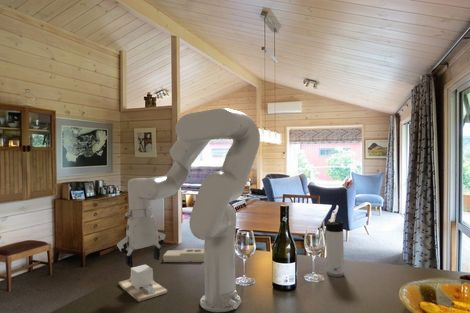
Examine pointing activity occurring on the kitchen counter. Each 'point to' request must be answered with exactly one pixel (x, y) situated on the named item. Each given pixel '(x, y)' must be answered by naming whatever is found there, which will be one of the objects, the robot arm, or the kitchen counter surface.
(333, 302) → the kitchen counter surface
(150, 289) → the steel rail
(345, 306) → the kitchen counter surface
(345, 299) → the kitchen counter surface
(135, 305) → the kitchen counter surface
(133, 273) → the white cube
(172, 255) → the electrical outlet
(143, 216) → the robot arm
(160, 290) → the mounting board
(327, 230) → the travel mug
